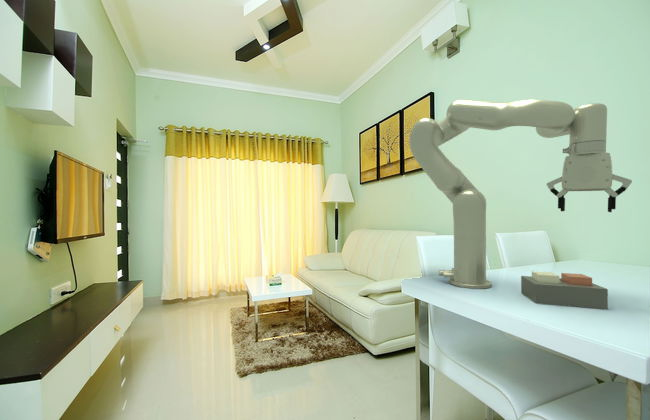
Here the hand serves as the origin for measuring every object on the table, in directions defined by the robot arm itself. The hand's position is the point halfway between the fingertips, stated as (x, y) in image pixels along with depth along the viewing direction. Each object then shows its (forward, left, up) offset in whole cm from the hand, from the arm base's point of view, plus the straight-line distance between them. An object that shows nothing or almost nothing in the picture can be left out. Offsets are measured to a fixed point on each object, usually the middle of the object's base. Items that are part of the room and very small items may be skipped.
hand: (585, 211), depth 78 cm
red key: (-4, -5, -20) cm, 21 cm away
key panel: (-8, -5, -24) cm, 26 cm away
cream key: (-11, -5, -20) cm, 24 cm away
